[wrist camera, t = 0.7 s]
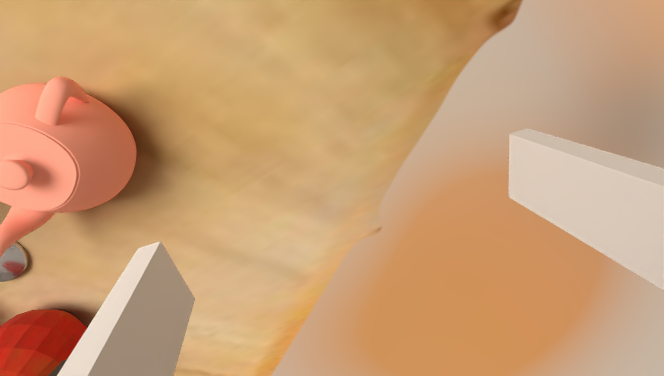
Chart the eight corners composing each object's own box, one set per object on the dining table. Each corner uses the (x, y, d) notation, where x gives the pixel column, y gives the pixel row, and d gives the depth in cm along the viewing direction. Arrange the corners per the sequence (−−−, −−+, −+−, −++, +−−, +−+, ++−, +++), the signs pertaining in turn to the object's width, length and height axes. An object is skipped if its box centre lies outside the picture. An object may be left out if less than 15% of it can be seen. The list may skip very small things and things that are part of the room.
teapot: (167, 105, 33) (132, 124, 24) (106, 238, 37) (57, 295, 28) (30, 34, 28) (-72, 27, 20) (-21, 195, 33) (-123, 246, 24)
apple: (45, 362, 42) (-28, 465, 31) (-12, 311, 38) (-118, 410, 27) (118, 335, 42) (71, 427, 32) (71, 281, 38) (-2, 367, 28)
